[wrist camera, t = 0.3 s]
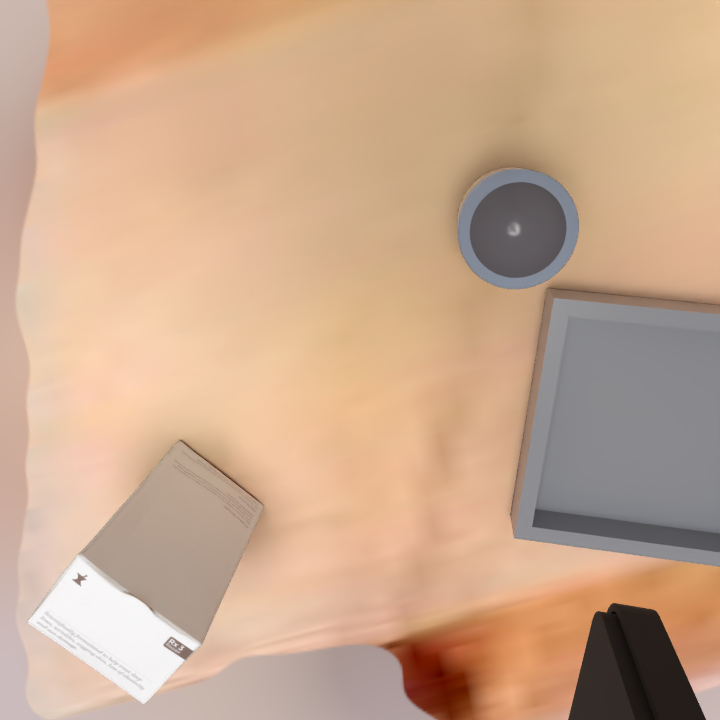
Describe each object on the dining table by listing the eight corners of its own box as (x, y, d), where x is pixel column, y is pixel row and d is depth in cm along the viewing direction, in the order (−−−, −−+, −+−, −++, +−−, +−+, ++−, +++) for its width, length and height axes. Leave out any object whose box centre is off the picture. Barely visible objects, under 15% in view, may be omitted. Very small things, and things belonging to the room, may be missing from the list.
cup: (463, 163, 40) (465, 164, 33) (565, 171, 39) (588, 174, 32) (452, 262, 41) (451, 283, 35) (549, 272, 41) (568, 294, 34)
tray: (547, 288, 41) (553, 298, 38) (821, 314, 39) (849, 327, 37) (510, 514, 46) (514, 538, 43) (752, 547, 44) (773, 573, 41)
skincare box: (139, 488, 49) (13, 621, 35) (183, 434, 48) (70, 551, 34) (226, 557, 50) (138, 714, 36) (273, 506, 48) (199, 651, 34)
